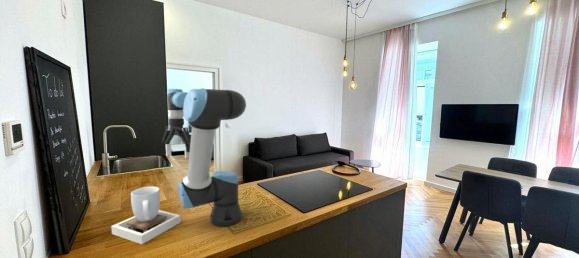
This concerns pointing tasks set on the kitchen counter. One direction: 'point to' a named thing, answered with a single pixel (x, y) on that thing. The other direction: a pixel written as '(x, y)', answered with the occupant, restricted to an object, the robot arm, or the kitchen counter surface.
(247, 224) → the kitchen counter surface
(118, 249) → the kitchen counter surface
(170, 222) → the face frame
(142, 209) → the mug
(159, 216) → the brown piece
